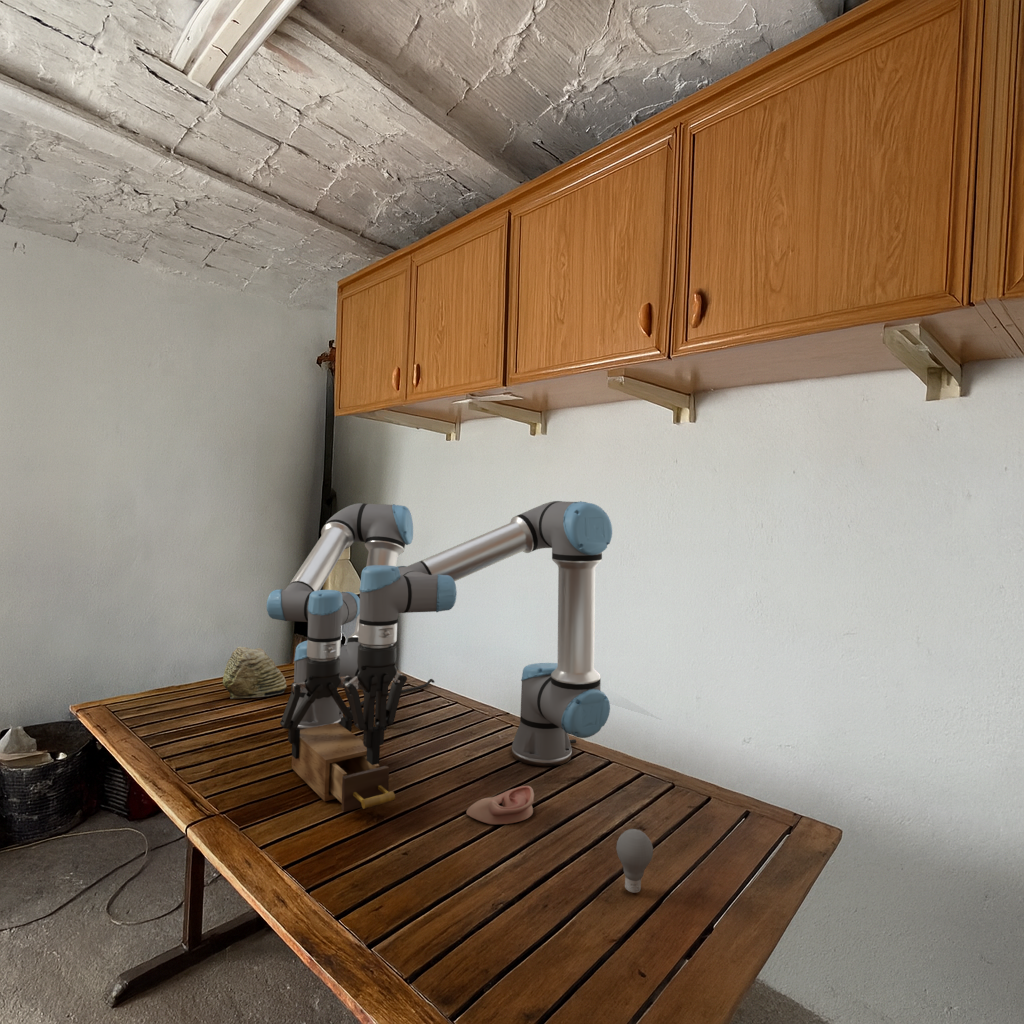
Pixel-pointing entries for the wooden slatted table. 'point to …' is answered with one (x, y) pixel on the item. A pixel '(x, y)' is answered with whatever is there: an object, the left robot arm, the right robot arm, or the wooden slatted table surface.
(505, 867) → the wooden slatted table surface
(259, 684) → the fossil
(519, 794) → the anatomical model
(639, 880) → the light bulb
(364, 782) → the drawer
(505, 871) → the wooden slatted table surface
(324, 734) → the cabinet
